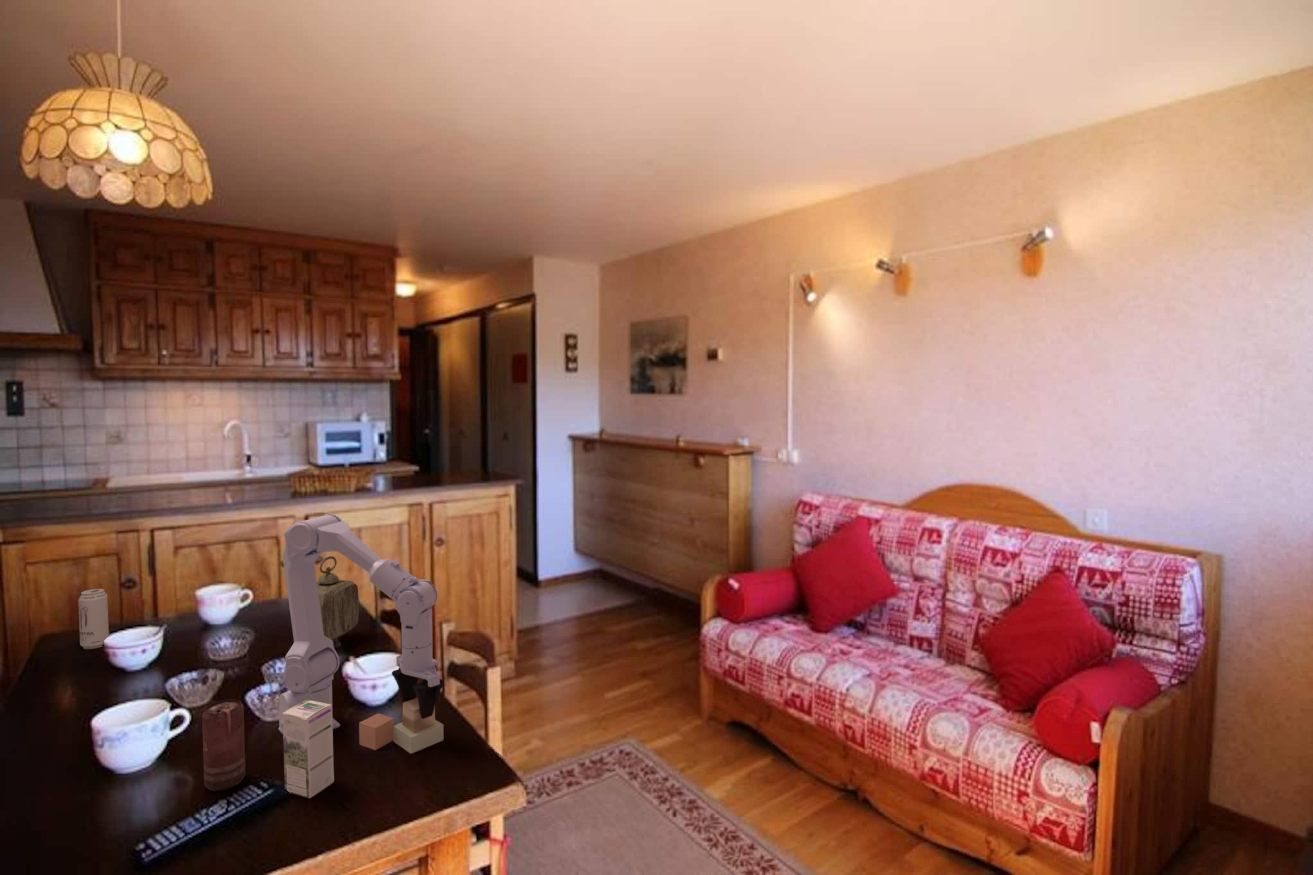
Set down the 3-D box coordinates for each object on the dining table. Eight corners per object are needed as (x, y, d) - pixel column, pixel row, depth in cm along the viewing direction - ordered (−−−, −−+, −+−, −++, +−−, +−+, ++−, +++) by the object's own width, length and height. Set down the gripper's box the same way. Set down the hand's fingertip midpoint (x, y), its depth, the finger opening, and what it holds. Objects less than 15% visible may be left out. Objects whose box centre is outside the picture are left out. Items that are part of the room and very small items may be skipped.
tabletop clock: (332, 637, 190) (330, 550, 188) (361, 639, 189) (360, 551, 187) (298, 656, 176) (296, 562, 174) (329, 658, 174) (328, 564, 173)
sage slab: (411, 755, 129) (410, 737, 129) (392, 742, 134) (392, 725, 133) (443, 741, 134) (443, 724, 134) (425, 729, 139) (424, 713, 139)
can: (215, 796, 114) (213, 717, 114) (197, 784, 118) (195, 707, 117) (252, 779, 120) (250, 703, 119) (234, 768, 123) (232, 694, 122)
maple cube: (413, 732, 131) (413, 710, 130) (402, 724, 134) (402, 702, 133) (434, 725, 134) (435, 703, 134) (423, 717, 137) (423, 695, 137)
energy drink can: (74, 648, 179) (72, 593, 178) (99, 640, 185) (97, 587, 184) (90, 651, 177) (88, 595, 176) (114, 643, 183) (112, 589, 182)
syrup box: (335, 781, 119) (334, 702, 118) (308, 800, 114) (306, 717, 113) (310, 775, 121) (309, 697, 120) (282, 793, 116) (281, 711, 115)
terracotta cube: (375, 750, 130) (375, 728, 130) (359, 744, 132) (359, 722, 132) (394, 740, 134) (393, 718, 134) (378, 734, 136) (378, 713, 136)
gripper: (453, 648, 131) (454, 715, 131) (419, 629, 141) (419, 692, 141) (419, 658, 125) (420, 728, 126) (386, 637, 136) (386, 703, 136)
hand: (417, 710), depth 134 cm, fingers open, 7 cm apart
